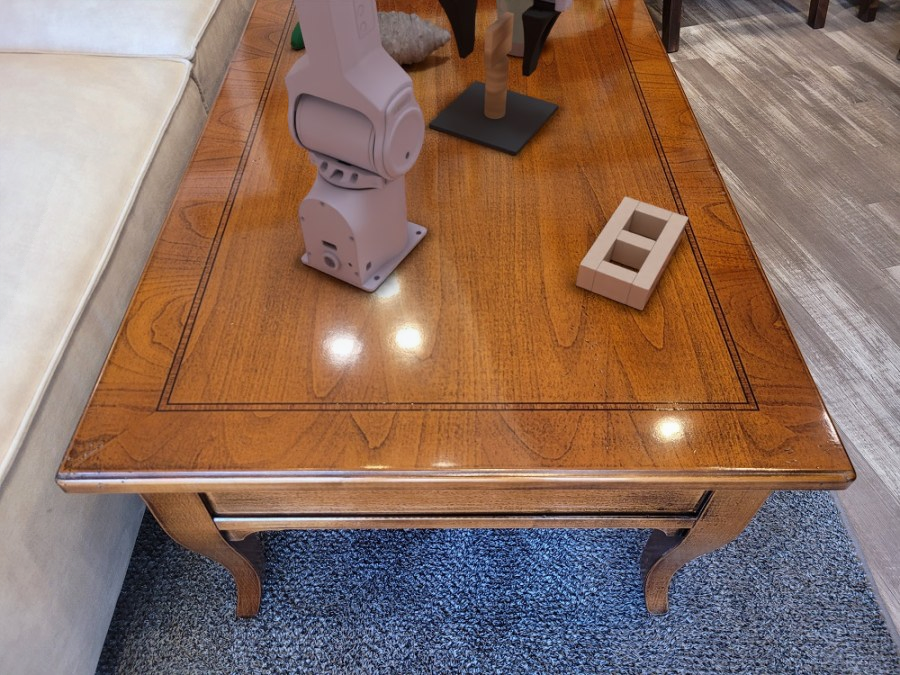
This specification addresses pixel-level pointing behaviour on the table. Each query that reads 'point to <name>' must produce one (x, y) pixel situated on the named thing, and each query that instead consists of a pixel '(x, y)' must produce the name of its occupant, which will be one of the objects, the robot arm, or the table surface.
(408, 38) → the seashell
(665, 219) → the frame
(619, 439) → the table surface
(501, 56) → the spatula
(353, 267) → the robot arm
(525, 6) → the coffee cup
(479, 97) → the mat
